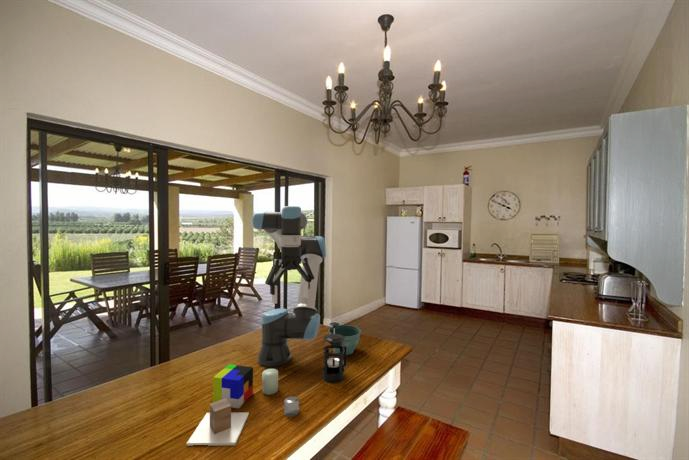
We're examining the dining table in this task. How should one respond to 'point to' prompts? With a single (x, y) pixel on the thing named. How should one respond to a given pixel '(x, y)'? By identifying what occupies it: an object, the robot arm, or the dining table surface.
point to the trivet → (226, 437)
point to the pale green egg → (269, 381)
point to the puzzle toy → (233, 385)
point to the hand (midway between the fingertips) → (290, 300)
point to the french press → (334, 363)
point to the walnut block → (220, 416)
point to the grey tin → (291, 406)
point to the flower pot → (347, 337)
